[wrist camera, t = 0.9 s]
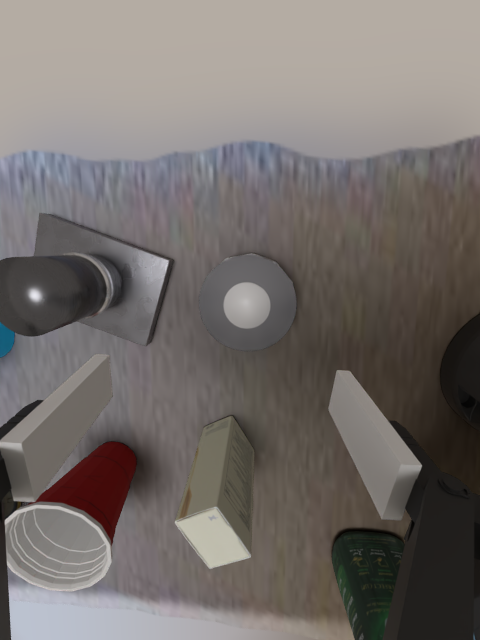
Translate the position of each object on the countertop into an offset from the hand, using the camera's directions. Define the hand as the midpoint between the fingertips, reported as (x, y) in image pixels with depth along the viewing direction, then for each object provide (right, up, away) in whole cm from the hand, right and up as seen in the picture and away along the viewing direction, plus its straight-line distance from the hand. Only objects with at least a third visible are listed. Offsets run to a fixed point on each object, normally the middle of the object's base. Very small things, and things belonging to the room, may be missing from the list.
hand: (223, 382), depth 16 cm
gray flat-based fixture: (-14, +8, +15) cm, 22 cm away
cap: (+2, +6, +14) cm, 15 cm away
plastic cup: (-15, -15, +21) cm, 30 cm away
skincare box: (0, -11, +19) cm, 22 cm away
